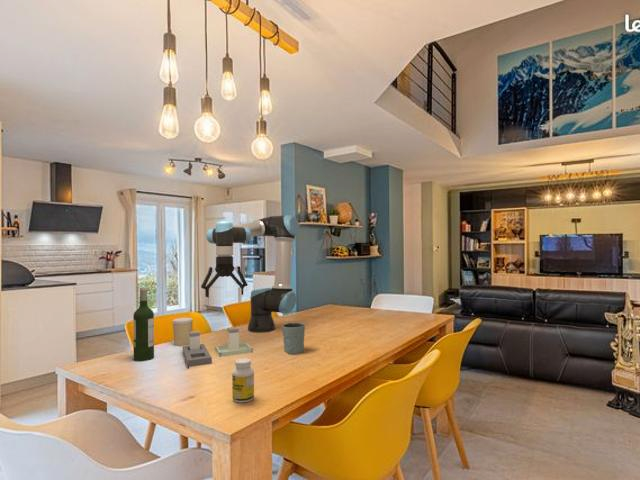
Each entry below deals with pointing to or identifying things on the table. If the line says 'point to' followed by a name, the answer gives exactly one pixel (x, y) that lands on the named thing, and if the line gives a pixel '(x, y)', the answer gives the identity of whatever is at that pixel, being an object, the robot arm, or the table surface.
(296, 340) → the grey-green cup
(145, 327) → the wine bottle
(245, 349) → the tray
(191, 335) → the twin plug
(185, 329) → the coffee cup
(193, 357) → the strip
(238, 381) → the pill bottle
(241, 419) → the table surface
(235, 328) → the plug
